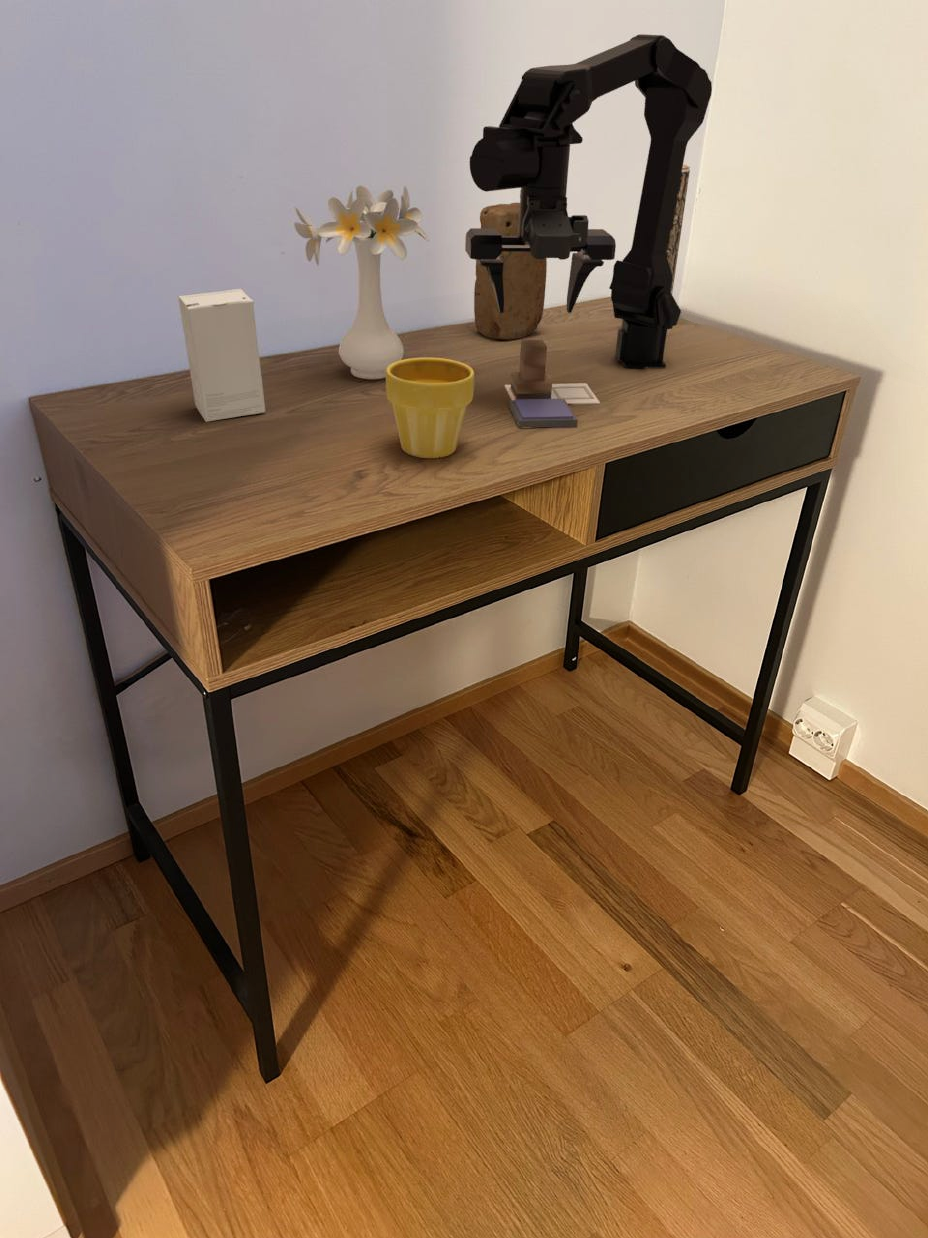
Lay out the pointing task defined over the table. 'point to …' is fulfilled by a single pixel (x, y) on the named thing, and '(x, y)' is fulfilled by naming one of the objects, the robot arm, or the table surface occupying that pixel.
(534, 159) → the robot arm
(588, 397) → the sheet
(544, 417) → the inkpad
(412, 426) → the plant pot
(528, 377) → the stamp
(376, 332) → the flower vase
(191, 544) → the table surface
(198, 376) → the skincare box
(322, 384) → the table surface
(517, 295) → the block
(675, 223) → the bark patterned cylinder
